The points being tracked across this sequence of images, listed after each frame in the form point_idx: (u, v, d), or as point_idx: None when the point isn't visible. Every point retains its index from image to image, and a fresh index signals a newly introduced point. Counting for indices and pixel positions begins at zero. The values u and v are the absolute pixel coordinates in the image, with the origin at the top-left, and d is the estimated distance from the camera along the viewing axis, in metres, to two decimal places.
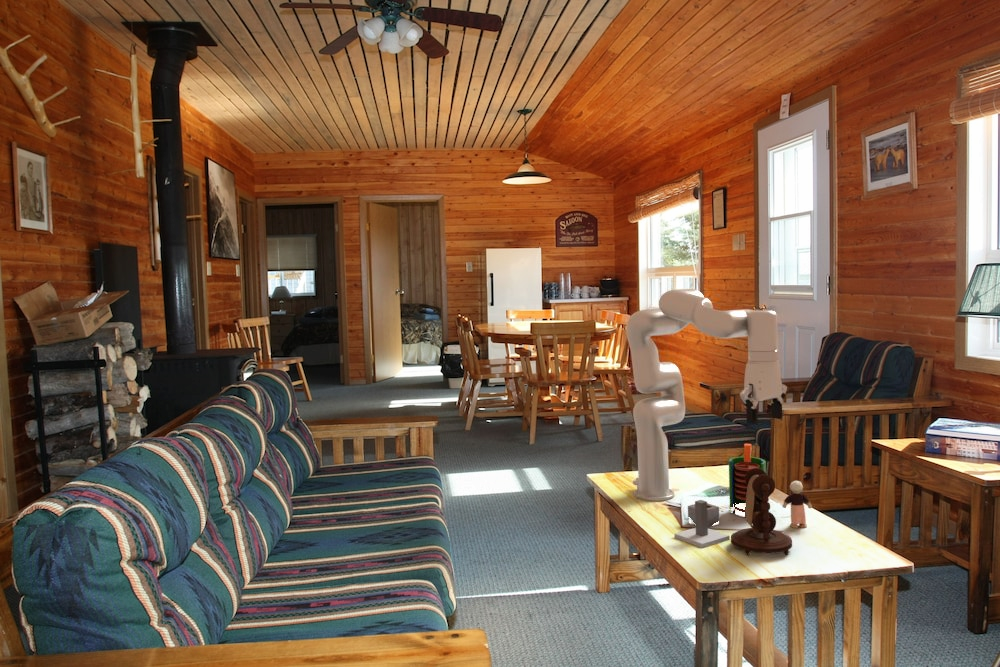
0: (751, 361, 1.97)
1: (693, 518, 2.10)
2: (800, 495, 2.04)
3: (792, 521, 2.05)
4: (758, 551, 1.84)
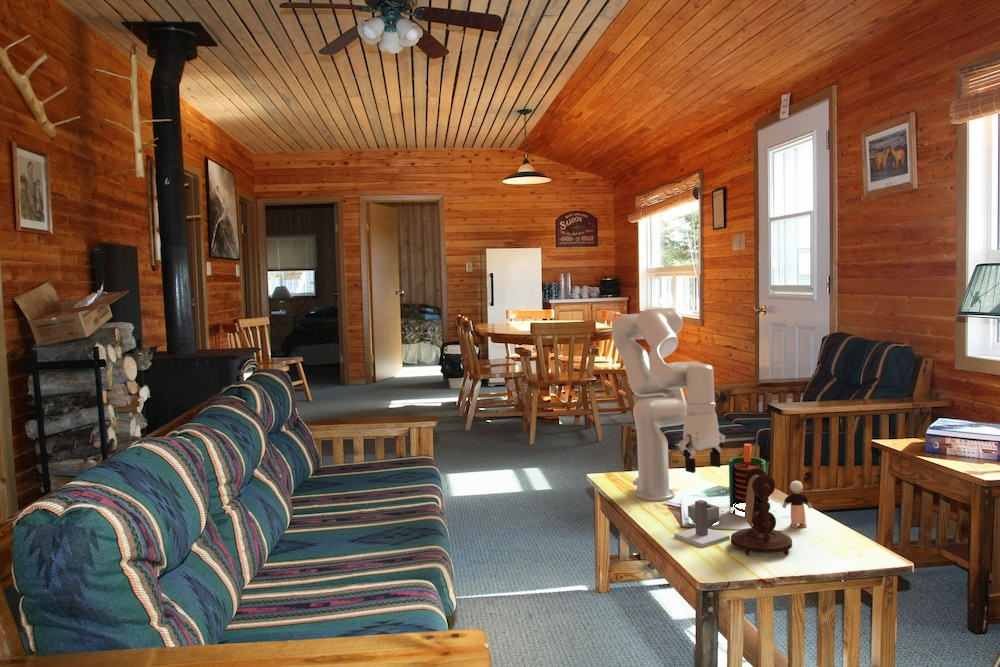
0: (689, 413, 2.08)
1: (693, 518, 2.10)
2: (800, 495, 2.04)
3: (792, 521, 2.05)
4: (758, 551, 1.84)
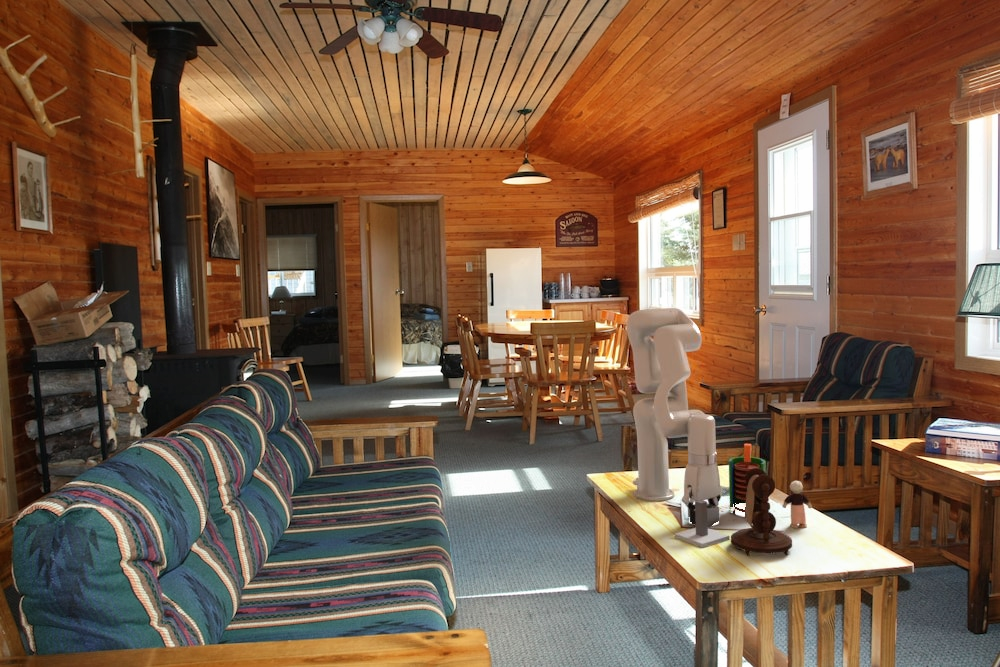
0: (690, 463, 2.09)
1: None
2: (800, 495, 2.04)
3: (792, 521, 2.05)
4: (758, 551, 1.84)
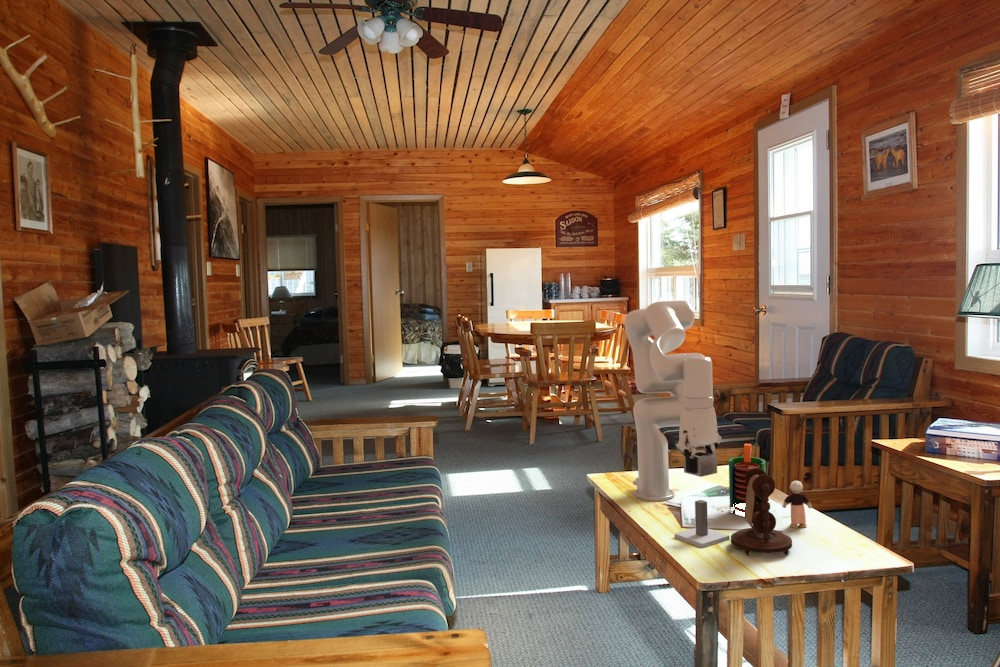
0: (686, 407, 1.96)
1: None
2: (800, 495, 2.04)
3: (792, 521, 2.05)
4: (758, 551, 1.84)
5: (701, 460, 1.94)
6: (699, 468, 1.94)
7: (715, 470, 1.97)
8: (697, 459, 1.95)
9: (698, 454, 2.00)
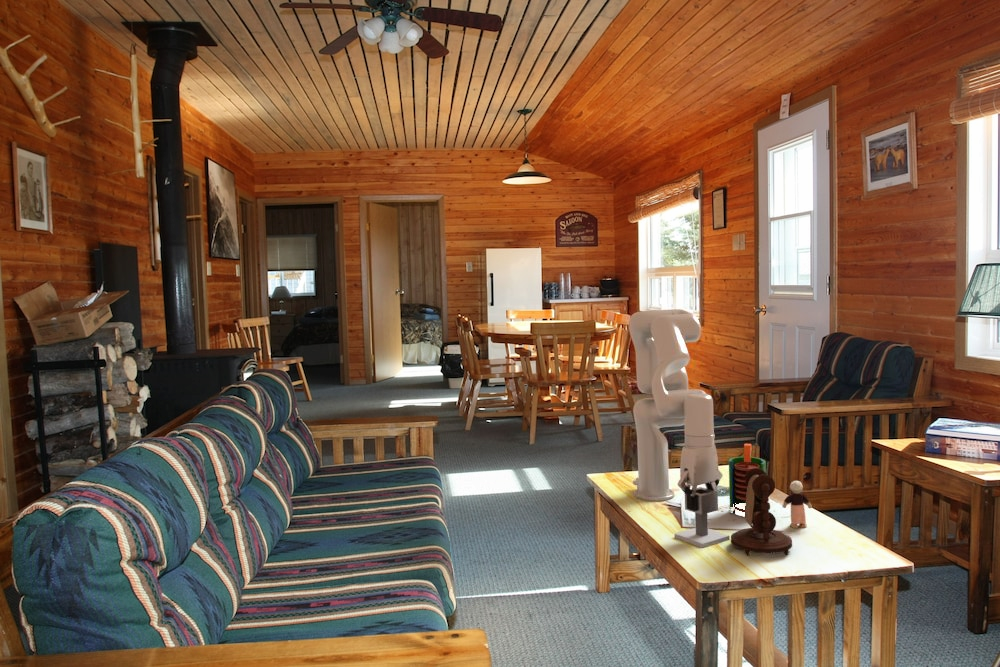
0: (687, 445, 1.97)
1: None
2: (800, 495, 2.04)
3: (792, 521, 2.05)
4: (758, 551, 1.84)
5: (702, 498, 1.95)
6: (700, 506, 1.95)
7: (716, 507, 1.98)
8: (698, 497, 1.95)
9: (699, 491, 2.01)
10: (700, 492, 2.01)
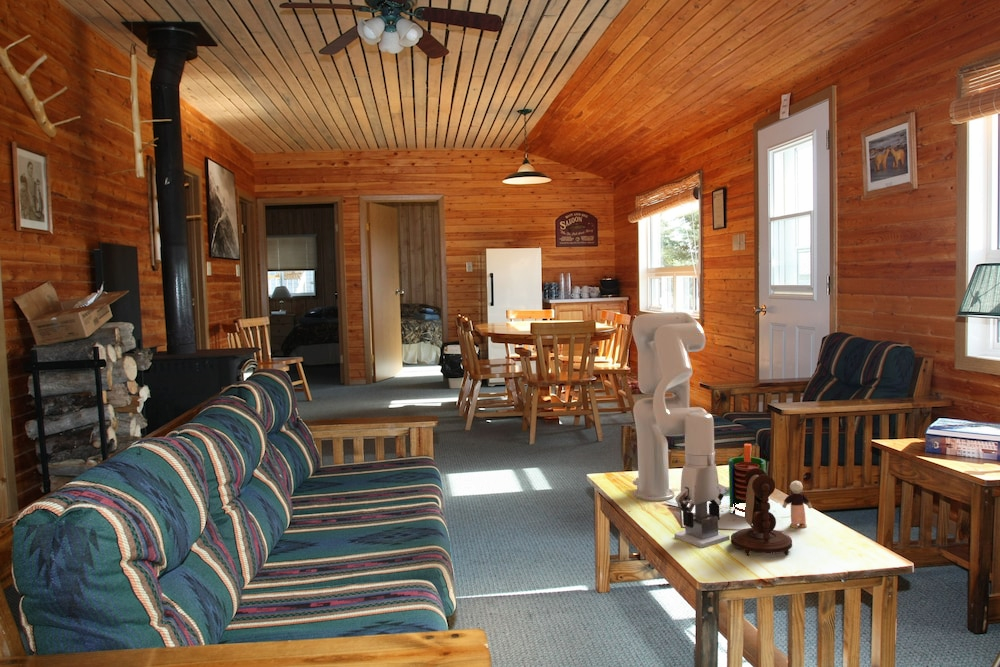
0: (687, 464, 1.97)
1: (691, 528, 1.99)
2: (800, 495, 2.04)
3: (792, 521, 2.05)
4: (758, 551, 1.84)
5: (702, 523, 1.95)
6: (700, 531, 1.96)
7: (716, 532, 1.98)
8: (698, 522, 1.96)
9: None
10: None
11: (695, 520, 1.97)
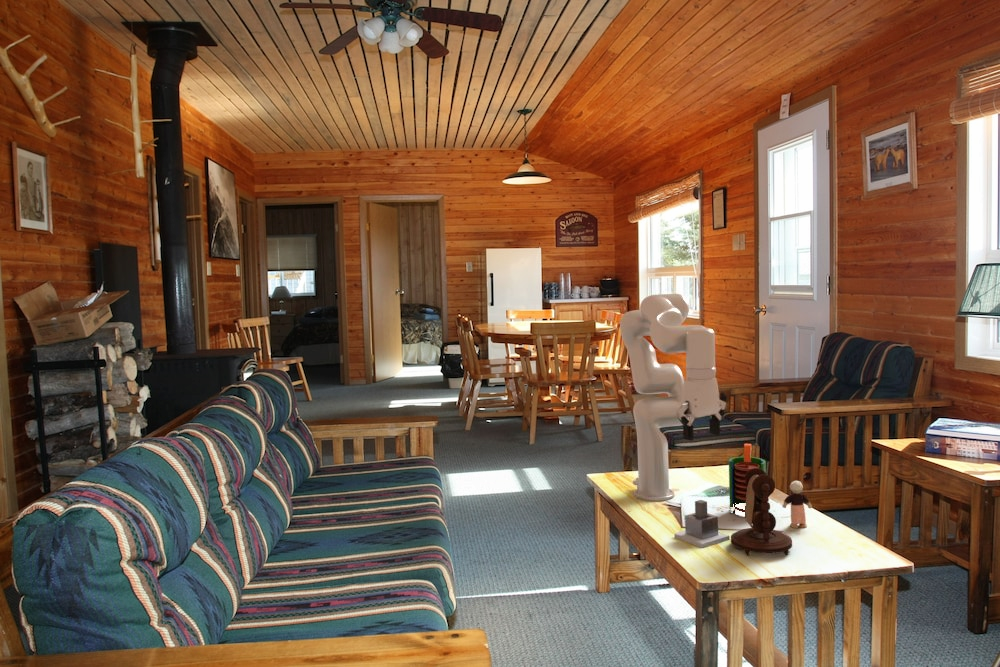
0: (688, 378, 1.99)
1: (691, 528, 1.99)
2: (800, 495, 2.04)
3: (792, 521, 2.05)
4: (758, 551, 1.84)
5: (702, 523, 1.95)
6: (700, 531, 1.96)
7: (716, 532, 1.98)
8: (698, 522, 1.96)
9: None
10: None
11: (695, 520, 1.97)
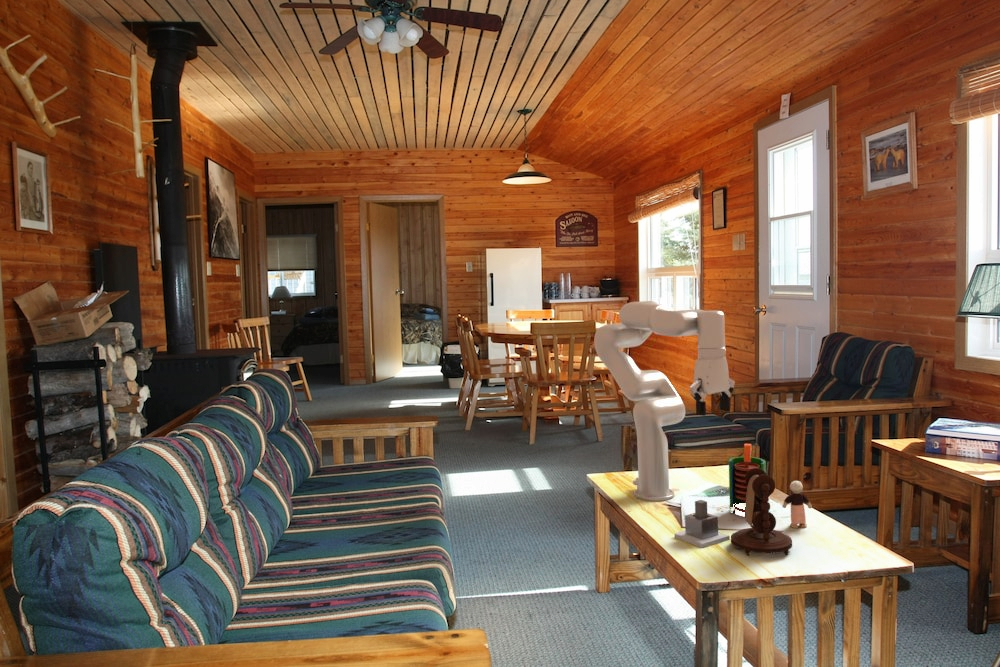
0: (700, 357, 2.13)
1: (691, 528, 1.99)
2: (800, 495, 2.04)
3: (792, 521, 2.05)
4: (758, 551, 1.84)
5: (702, 523, 1.95)
6: (700, 531, 1.96)
7: (716, 532, 1.98)
8: (698, 522, 1.96)
9: None
10: None
11: (695, 520, 1.97)
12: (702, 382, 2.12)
